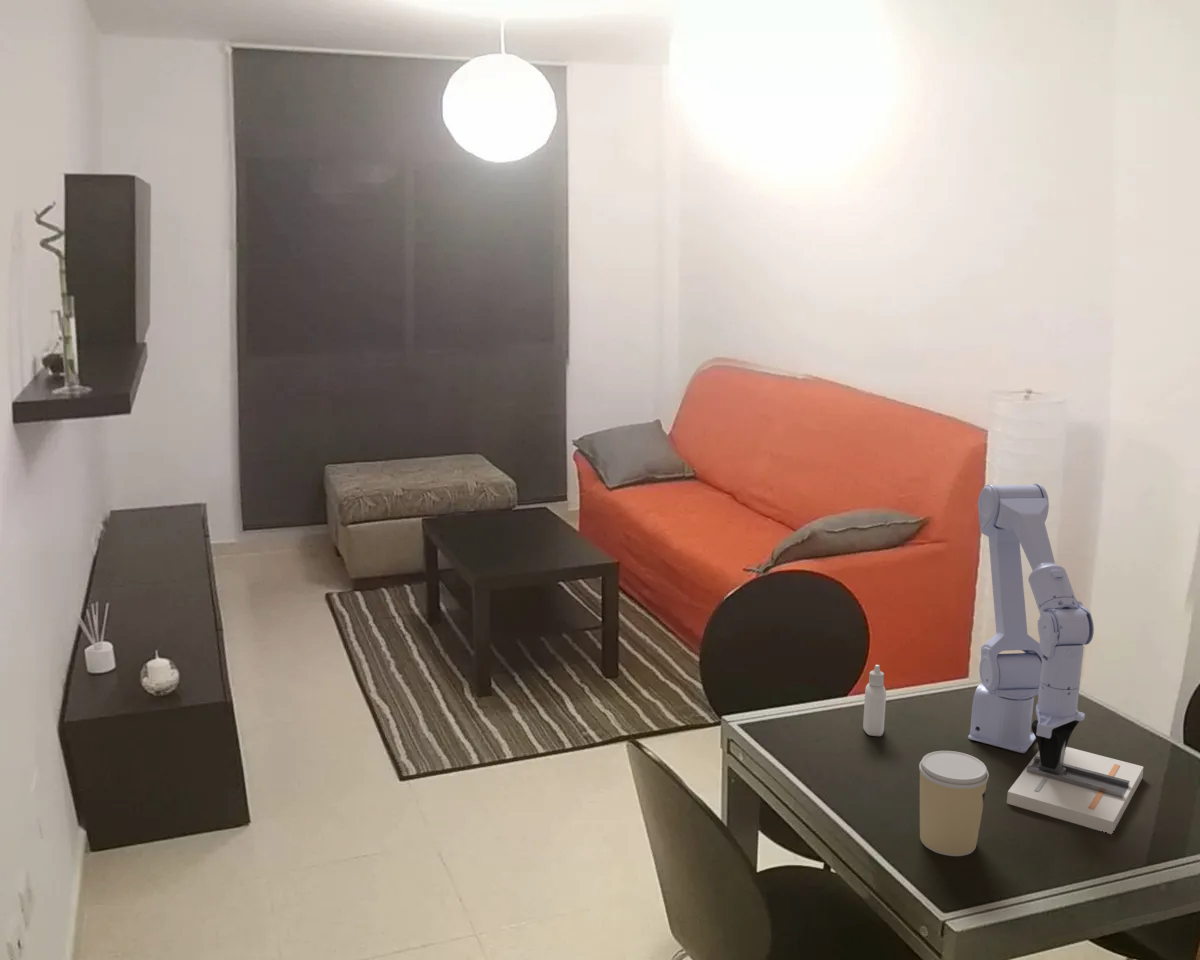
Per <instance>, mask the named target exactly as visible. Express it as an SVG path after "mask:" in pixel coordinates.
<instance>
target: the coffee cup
mask: <svg viewBox="0 0 1200 960" xmlns="http://www.w3.org/2000/svg"><path fill="white" fill-rule="evenodd" d="M918 768H919V769H918V770H919V839H920V841H921V843H922V844H923V846H924V847H926V848H927V849H929V850H930V851H933V852H934V853H936V854H939V855H944V856H949V857H963V856H967V855H970V854H972V853H973V852H974V851H975V850H976V847H977V843H978V840H979V839H978V838H979V833H980V826H981V822H982V815H983V809H984V803H985V798H986V796H985V795H986V789H987V783H988V781H989V777H990V776H989V775H990V773H989V771H988V769H987V766H986V765H985V763H984V762H983V761H981V760H980V759H979V758H977V757H975V756H973V755H970V754H967V753H965V752H961V751H960V752H959V751H953V750H937V751H935V750H934V751H932V752H929V753H926V754H925V755H924V756H923V757H922V759H921V761H920V762H919V764H918Z"/></svg>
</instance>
